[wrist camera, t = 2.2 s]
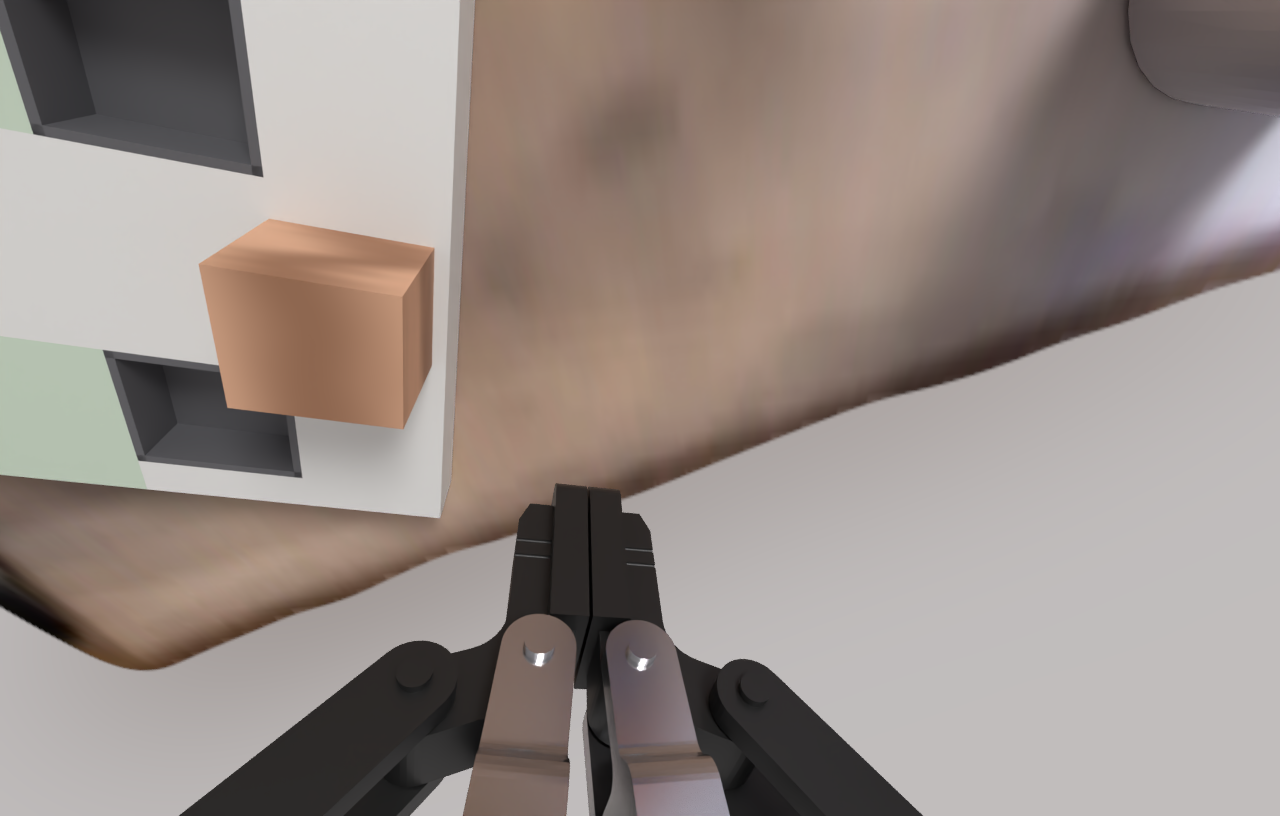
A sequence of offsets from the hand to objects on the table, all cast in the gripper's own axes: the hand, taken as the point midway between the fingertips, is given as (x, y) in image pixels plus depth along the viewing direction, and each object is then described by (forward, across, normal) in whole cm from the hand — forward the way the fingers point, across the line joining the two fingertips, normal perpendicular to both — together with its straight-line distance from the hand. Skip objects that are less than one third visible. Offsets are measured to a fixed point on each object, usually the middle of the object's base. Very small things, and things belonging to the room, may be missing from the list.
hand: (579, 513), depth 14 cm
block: (+9, +8, 0) cm, 12 cm away
